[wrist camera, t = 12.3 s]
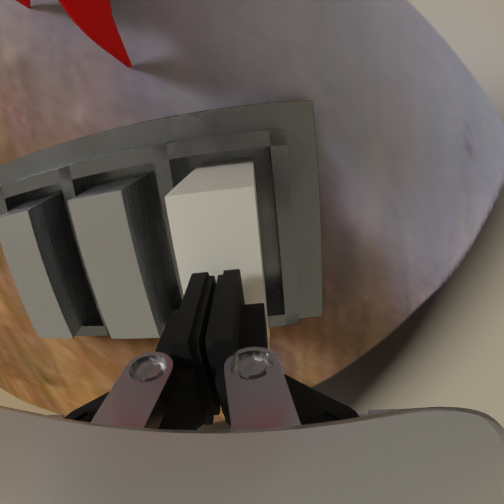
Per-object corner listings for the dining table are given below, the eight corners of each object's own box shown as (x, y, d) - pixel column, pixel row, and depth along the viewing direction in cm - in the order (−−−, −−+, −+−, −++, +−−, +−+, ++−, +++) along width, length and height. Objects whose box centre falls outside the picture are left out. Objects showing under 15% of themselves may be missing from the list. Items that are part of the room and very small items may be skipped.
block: (200, 163, 18) (164, 196, 11) (253, 158, 18) (254, 186, 10) (218, 288, 21) (203, 375, 14) (265, 284, 21) (271, 371, 14)
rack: (1, 165, 18) (-49, 183, 13) (310, 100, 17) (333, 93, 12) (52, 326, 23) (21, 367, 18) (320, 311, 22) (337, 364, 17)
